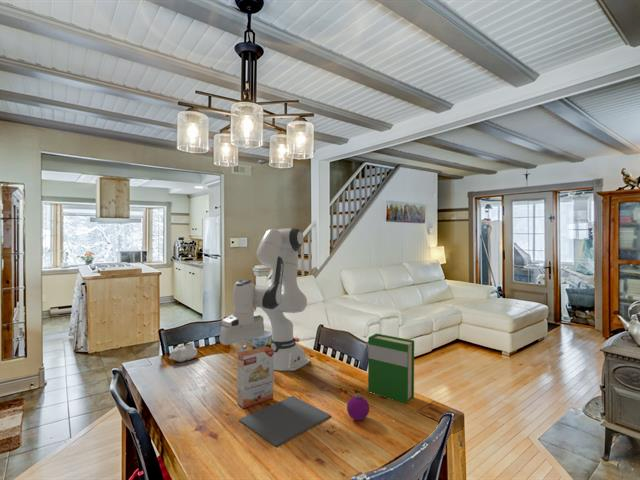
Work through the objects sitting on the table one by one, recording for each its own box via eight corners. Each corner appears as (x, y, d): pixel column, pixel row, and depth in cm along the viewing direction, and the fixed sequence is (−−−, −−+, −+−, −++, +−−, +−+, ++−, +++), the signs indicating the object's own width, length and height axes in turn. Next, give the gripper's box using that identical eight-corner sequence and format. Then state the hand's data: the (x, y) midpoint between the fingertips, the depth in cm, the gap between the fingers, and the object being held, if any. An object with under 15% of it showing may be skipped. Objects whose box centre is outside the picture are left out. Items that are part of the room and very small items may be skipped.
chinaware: (243, 349, 204) (243, 336, 204) (252, 342, 219) (252, 329, 219) (267, 351, 201) (267, 338, 201) (275, 343, 216) (275, 331, 216)
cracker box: (243, 409, 134) (243, 356, 134) (236, 403, 139) (236, 352, 138) (274, 398, 143) (274, 348, 143) (266, 393, 148) (266, 345, 147)
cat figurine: (197, 339, 193) (170, 342, 182) (202, 349, 188) (175, 353, 177) (191, 352, 196) (165, 355, 185) (196, 362, 191) (169, 367, 180)
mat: (292, 397, 144) (292, 395, 144) (331, 416, 129) (331, 415, 129) (238, 420, 126) (238, 419, 126) (276, 447, 111) (276, 445, 111)
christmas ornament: (346, 412, 132) (346, 386, 132) (367, 413, 132) (367, 387, 131) (347, 424, 124) (347, 397, 124) (370, 425, 123) (370, 397, 123)
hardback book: (413, 397, 145) (414, 340, 144) (407, 404, 139) (407, 345, 138) (375, 386, 155) (376, 333, 155) (368, 392, 149) (368, 337, 149)
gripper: (259, 313, 156) (259, 343, 157) (217, 321, 142) (217, 354, 142) (267, 315, 152) (267, 346, 152) (225, 323, 137) (225, 358, 138)
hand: (243, 350), depth 147 cm, fingers closed
